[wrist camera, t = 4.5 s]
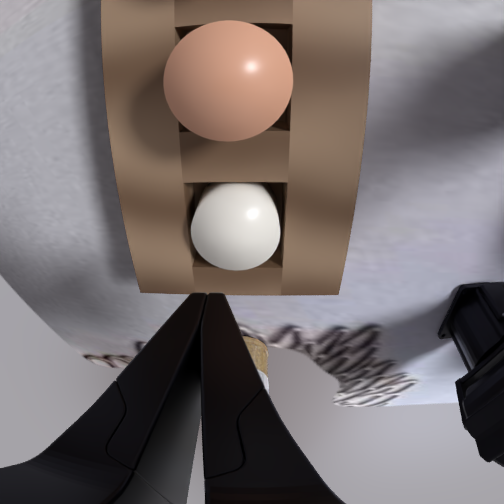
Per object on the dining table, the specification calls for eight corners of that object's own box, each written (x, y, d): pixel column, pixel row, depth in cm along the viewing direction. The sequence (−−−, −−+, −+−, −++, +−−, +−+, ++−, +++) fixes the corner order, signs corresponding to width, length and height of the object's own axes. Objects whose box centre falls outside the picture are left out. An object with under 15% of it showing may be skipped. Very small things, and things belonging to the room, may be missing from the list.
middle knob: (284, 125, 13) (291, 142, 11) (184, 126, 13) (167, 143, 11) (286, 29, 11) (294, 21, 9) (180, 32, 11) (161, 26, 9)
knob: (275, 240, 20) (278, 270, 17) (202, 240, 20) (195, 270, 17) (278, 171, 17) (282, 193, 15) (197, 172, 17) (186, 193, 15)
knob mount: (327, 257, 22) (338, 294, 19) (155, 255, 22) (140, 292, 19) (344, -94, 9) (363, -121, 6) (135, -88, 9) (111, -112, 6)
